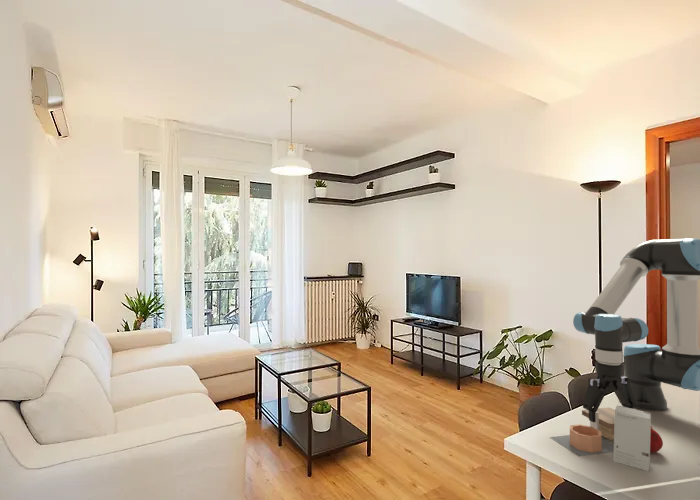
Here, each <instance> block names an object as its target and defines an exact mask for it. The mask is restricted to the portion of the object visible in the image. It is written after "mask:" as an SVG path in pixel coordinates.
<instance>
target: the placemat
mask: <svg viewBox="0 0 700 500" xmlns="http://www.w3.org/2000/svg"><path fill="white" fill-rule="evenodd" d="M549 439H551V440H553V441H554V442H556V443H558V444H559V445H561V446H562V447H564V448H565V449H567V450H568V451H570V452H571V453H573V454H575V455H576V456H578V457H584V456H593V455H600V454H608V453H614V443H612V442H611V441H610V440H608V439H605V438H603V437H602V451H601V452H593V453H591V452H587V451H583V450H578V449H577V448H575V447H574V446H572V445H570V434H566V435H557V436H550V437H549Z"/></svg>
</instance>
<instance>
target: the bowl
mask: <svg viewBox="0 0 700 500" xmlns="http://www.w3.org/2000/svg"><path fill="white" fill-rule="evenodd" d="M569 435H570V445H572V446H574V447H575V448H577V449H578V450H583V451H587V452H591V453H593V452H601V451H602V438H603V436H602V435H601V431H599V430H597V429H595V428H593V427H590V425H585V424H580V423H579V424H574V425H573V424H571V425H570V427H569Z"/></svg>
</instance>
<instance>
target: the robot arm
mask: <svg viewBox="0 0 700 500" xmlns="http://www.w3.org/2000/svg"><path fill="white" fill-rule="evenodd" d="M619 266H620V267H619V268H618V269H617V270H616V272H615V273H614V274H613V275H612V277H611V279H609V281H608V283H606V285H605V287H604V288H603V289H602V290H601V292H600V294H599V295H597V298H596V299H595V300H594V301H593V303H592V304H591V305H590V307H589V308H588V309H587V311H580V312H579V311H578V312H577V313H576V314H574V316H573V320H572V321H573V323H572V324H573V326H574V329H575V330H576V331H578V332H580V333H583V334H586V335H593V336H594V341H595V345H594V355H595V360H596V361H595V362H594V363H595V373H596V374H597V377H596V378H595V379H594V378H588V381H587V382H588V386H587V390H586V393H585V395H584V396H585V397H584V400H583V405H582V408H583V410H588V411H589V418H588V420H589V423H590V424H589V426H590V427H593V428H595V429H597V430H599V413H598V412H596V411H597V410H598V409H599V407H600V405H601V404H602V401H603V400H604V397H605V396H606V395H608V393H611V392H614V394H615V396H616V397H617V399H618V400H619V402H620V404H621V406H622V407H627V408H632V409H635V408H636V409H640V410H641V409H642V410H646V411H647V410H648V411H658V412H659V411H665V410H667V409H668V400H667V399H666V398H665V397H666V396H665V395H664V391H663V388H662V384H667V385H670V386H674V387H678V388H681V389H683V390H689V391H693V392H700V348H699V305H698V304H699V291H698V290H699V289H698V287H699V286H698V285H699V284H698V283H699V282H698V281H699V280H700V239H699V238H692V237H691V238H690V237H689V238H688V237H684V238H665V239H660V238H659V239H651V240H647V241H645V242H641V243H640V244H638V245H636V246H635V247H633V248H632V249H631V250H630V251H628V253H626V254H625V255H624V256H623V258H622V259H621V260H620V262H619ZM654 270H658V271H661V275H662V277H663V278H664V279H666V339H667V340H666V344H665V345H664V346H662V348H661V346H659V345H657V344H652V343H651V344H650V343H649V344H648V343H632V344H627V345H625V346H624V347H623V343H630V342H639V341H641V340H644V339H646V338H647V336H648V334H649V327H648V324H647V323H646V322H645V321H644V320H642V319H640V318H637V317H629V318H627V317H622V316H621V315H618V314H616V312H617V311H618V310H619V308H620V307H621V306H622V305H623V302H625V300H626V298H627V297H628V296H629V295H630V293H631V291H633V289H634V287H635V286H636V285H637V283H638V282H639V281H640V279H641V278H642V277H646V276H647V275H648V273H649V272H651V271H654Z"/></svg>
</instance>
